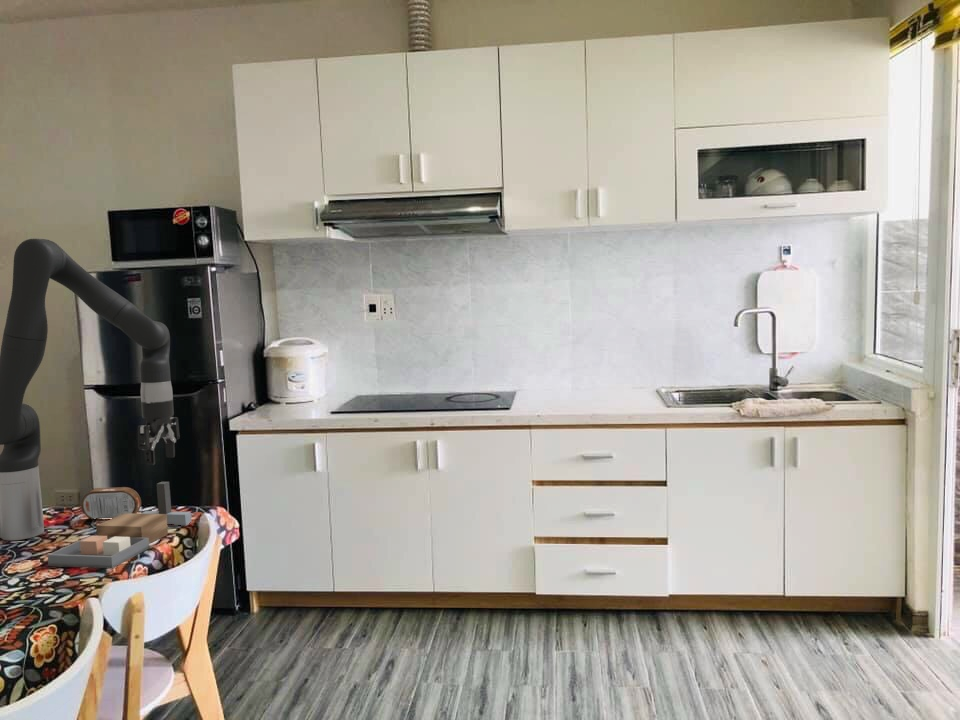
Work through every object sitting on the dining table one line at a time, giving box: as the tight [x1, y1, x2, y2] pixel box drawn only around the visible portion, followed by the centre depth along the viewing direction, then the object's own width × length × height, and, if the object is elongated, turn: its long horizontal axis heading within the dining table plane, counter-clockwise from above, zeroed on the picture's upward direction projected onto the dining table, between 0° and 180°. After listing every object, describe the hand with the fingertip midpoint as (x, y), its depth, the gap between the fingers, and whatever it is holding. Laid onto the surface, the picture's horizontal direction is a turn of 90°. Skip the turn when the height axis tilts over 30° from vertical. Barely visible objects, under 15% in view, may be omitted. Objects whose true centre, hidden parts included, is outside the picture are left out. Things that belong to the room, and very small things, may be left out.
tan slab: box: [95, 513, 169, 545], centre depth 181 cm, size 12×10×5 cm
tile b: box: [103, 536, 131, 555], centre depth 171 cm, size 4×4×3 cm
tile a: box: [80, 535, 108, 554], centre depth 172 cm, size 4×4×3 cm
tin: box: [81, 486, 142, 520], centre depth 200 cm, size 15×3×8 cm, turn 92°
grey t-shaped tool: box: [140, 481, 192, 527], centre depth 194 cm, size 13×2×11 cm, turn 80°
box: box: [47, 535, 150, 569], centre depth 170 cm, size 16×13×2 cm
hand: (160, 460), depth 193 cm, fingers open, 8 cm apart
